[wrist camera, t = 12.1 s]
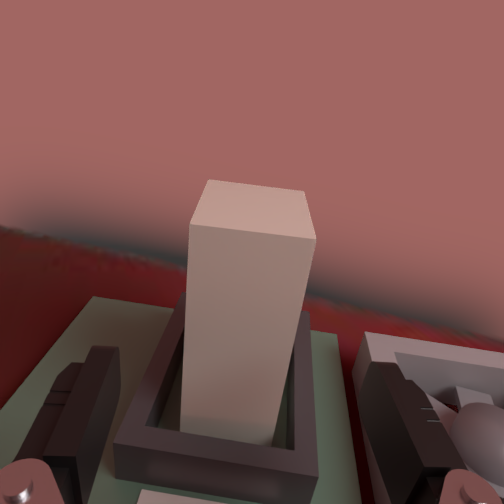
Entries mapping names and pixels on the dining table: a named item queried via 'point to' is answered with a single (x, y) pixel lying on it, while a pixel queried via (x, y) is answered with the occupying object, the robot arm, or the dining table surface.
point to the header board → (192, 445)
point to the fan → (446, 399)
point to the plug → (242, 307)
